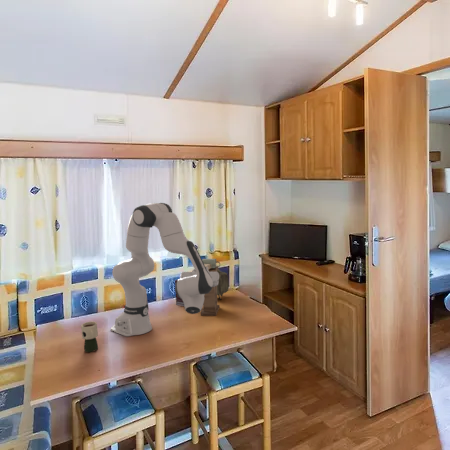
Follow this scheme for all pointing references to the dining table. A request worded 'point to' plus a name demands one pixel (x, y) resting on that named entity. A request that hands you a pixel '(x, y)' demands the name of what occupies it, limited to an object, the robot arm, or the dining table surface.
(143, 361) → the dining table surface
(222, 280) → the tabletop clock
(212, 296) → the walnut shelf
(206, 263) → the mallet
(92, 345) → the character mug
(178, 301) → the supplement box
